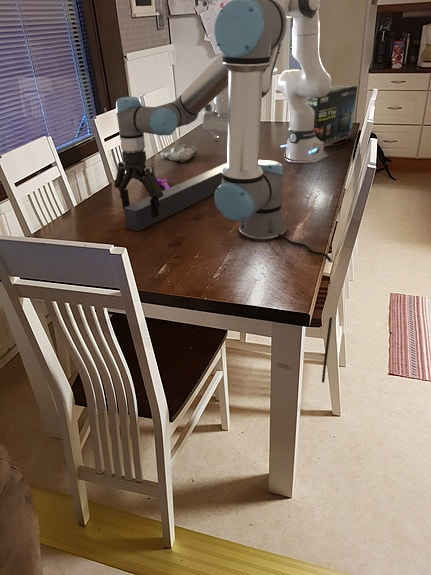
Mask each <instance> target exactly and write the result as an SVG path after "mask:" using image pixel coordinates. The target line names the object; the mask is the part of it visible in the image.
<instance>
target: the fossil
mask: <svg viewBox="0 0 431 575" xmlns="http://www.w3.org/2000/svg"><path fill="white" fill-rule="evenodd" d="M198 153H199V150H198V148H197V146H195V145H188V146H187V145H186V143H184V142H183V143H181V142H176V143H175V145H174V146H173V147H172V148H171V149H170V150H168V149H165V150H162V151H161V152H160V156H161V158H162V159H163V160H169V161H174V162H177V161H179V162H180V163H185V162H187V161H188V160H190V159H191V158H192V157H193V156H194V155H197V154H198Z"/></svg>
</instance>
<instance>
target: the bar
mask: <svg viewBox="0 0 431 575" xmlns="http://www.w3.org/2000/svg"><path fill="white" fill-rule="evenodd" d="M226 165H227V162H226V163H223V164H220V165H219V166H216V167H214V168H211V169H210V170H207V171H205V172H203V173H201V174H198V175H196V176H194V177H191V178H189V179H187V180H185V181H182V182H180V183H177V184H175V185H173V186H171V187H170V188H168V189H166V190H165V189H164V190H161V191H162V193H163V196H162V197H160V198H159V207H158V212H159V216H157V217H155V218H152V215H151V205H150V199H151V196H150V195H149V196H148V197H145V198H144V199H141V200H139V201H137V202H134V203H132V204H130V205H129V206H127V207H125V208H124V209H123V213H124V214H123V215H124V219H125V220H124V221H125V228H126V229H129V230H133V231H136V232H139V231H142V230H144V229H146V228H147V227H150V226H153V225H154V224H157V223H158V222H160V221H162V220H164V219H166V218H168V217H170V216H173V215H174V214H176V213H178V212H181V211H182V210H184V209H187V208H189V207H190V206H192V205H194V204H196V203H198V202H200V201H202V200H204V199H206V198H208V197H210V196H212V195H215V192H216V190H217V188H218V187H219V186H220V185H221V184H222V169H223V168H224V167H225V166H226Z"/></svg>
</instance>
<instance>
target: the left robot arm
mask: <svg viewBox="0 0 431 575" xmlns="http://www.w3.org/2000/svg"><path fill="white" fill-rule="evenodd" d="M213 30H214V31H213V34H214V35H213V36H214V41H215V43H216V46H217V47H218V48H219V51H220V52H221V53H220V54H219V55H218V57H216V58H215V60H214V61H213V62H212V63H210V65H209V66H207V67H206V69H205V70H204V71H203V72H202V73H201V74H199V76H198V77H197V78H195V80H193V82H192V83H191V84H190V85H189V86H187V88H186V89H185V90H184V91H183V92H182V93H181V94H180V95H179V96H178V97H177V98H176V99H175V100H174V101H171V102H168V103H165V104H160V105H158V106H144V105H142V102H141V99H140V97H137V96H124V97H123V96H122V97H119V98H117V99H116V102H115V109H116V110H115V112H116V113H115V115H116V119H117V124H118V132H119V142H120V143H119V144H120V149H121V150H122V151H121V157H122V161H120V162H117V172H116V177H115V181H114V185H113V186H114V188H115V189H117V190H118V191H119V197H120V199H121V205H122V210H124V208H125V207H127V206H129V205H131V204H130V197H129V196H130V195H129V189H127V188H128V185H129V184H130V182H131V180H132V179H135V180H137V181H139V182H140V183H141V184H142V185H143V187H144V189H145V190H146V192H147V193H148V195H149V197H150V196H151V199H150V205H151V215H152V218H155V217H157V216H159V212H158V207H159V198H160V197H162V196H163V193H162V191H163V190H162V188H161V186H160V185H159V184H158V181H157V179H158V178H157V177H156V175H155V170H154V167H153V166H149V167H147V165H146V162H147V153H146V151H147V150H146V144H145V134H150V135H155V136H156V135H157V136H161V137H163V136H172V135H173V134H174V132H175V131H176V129H178V128H181V127H184V126H187V125H190V124H192V123H193V122H196V120H197V119H198V117H199V113H200V112H202V110H204V109H203V108H205V107H206V106H207V105H208V104H210V103H212V102H213V101H214V98H215V97H216V96H217V95H219V94H220V93H221V92H222V91H223V90H224V89H225V88H226V87H227V86H228V85H229V86H228V132H227V162H226V163H227V165H226V166H225V167H224V168H223V169H222V184H221V185H220V186H219V187H218V188H217V190H216V192H215V193H214V194H213V195H214V197H213V200H214V204H215V207H216V209H217V210H218V212H220V213H221V215H222V216H223V217H224V218H226V219H228V220H229V221H232V222H239V226H238V232H239V235H240V236H241V237H242V238H244V239H247V240H250V241H254V242H271V241H277V240H279V239H283V240H284V241H286V242H287V243H288V244H291V245H293V246H300V247H303V248H305V249H306V250H307V251H308V252H310V253H311V254H314V255H318V256H323V257H324V258H325V259H326V260H327V261H328V262H330V263H332V262H333V260H332V258H331V257H330V256H329V255H328V254H327V253H326V252H322V251H317V250H313V249H312V248H311V247H310V246H309V245H308V244H306V243H302V242H297V241H293V240H291V239H289V238H288V237H286V236H285V235H286V234H287V223H286V221H285V216H284V214H283V210H282V200H283V183H284V168H283V164H282V163H280V162H278V161H275V160H270V159H259V157H260V156H259V155H260V138H261V120H262V103H263V102H262V100H263V98H262V83H263V70H264V69H265V68H266V67H267V66H268V65H269V63H270V52H271V51H272V50H274V49H275V48H276V47H277V46H278V45H279V44H280V43H281V44H282V42H283V40H284V39H285V36H286V33H287V30H288V17H286V14H285V12H284V9H283V8H282V6H281V5H280V4H279V3H278V2H276V1H274V0H231V1H229V2H227V3H226V4H225V5H224V6H223V7H222V8H221V10H219V12H218V14H217V16H216V18H215V22H214V29H213ZM332 323H333V316H330V317H329V319H328V327H327V335H326V343H325V351H324V358H323V366H322V375H321V383H325V380H326V370H327V362H328V354H329V346H330V339H331V338H330V337H331V331H332Z"/></svg>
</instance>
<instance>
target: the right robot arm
mask: <svg viewBox="0 0 431 575" xmlns="http://www.w3.org/2000/svg"><path fill="white" fill-rule="evenodd" d="M274 1H276V2H278V3H279V4H280V5H281V6H282V8H283V9H284V12H285V14H286V17H287V18H292V19H293V22H292V25H293V26H292V42H291V44H292V48H291V51H292V52H291V54H292V56H293V58H294V59H295V60H296V61H297V62H298V63H299V65H300V68H301V69H293V68H292V69H288V70H284V71H282V72H281V74H280V75H279V78H278V82H277V85H278V90H279V91H280V92H281V94H282V95H283V96H284V98H285V100H286V102H287V105H288V109H289V128H288V130H287V134H288V135H287V136H288V138H287V142H286V144H283V145H280V148H284V147H286V149H285V153H286V157H287V158H289V159H292V160H311V158H313V157H315V156H317V155H319V154H321V153H323V152H325V151H324V149H325V148H324V145H323V143H322V142H321V141H320V140H319V139H318V138H317V137H316V134H315V132H316V133H319V129H318V128H315V129H314V116H315V112H314V109H313V108H312V107H311V106H310V105H309V104H308V102H307V99H306V97H308V98H320V97H325V96H326V95H327V94H328V93H329V91H330V89H331V87H332V85H333V84H332V82H333V81H332V78H331V76H330V74H329V73H328V72H327V71H326V70H325V68H324V66H323V64H322V61H321V57H320V14H319V8H320V5H321V0H274ZM281 46H282V42H281V43H280V44H279V45H278V46H277V47H276V48H275V49H274V50H272V51H271V52H270V63H269V65H268V66H267V67H266V68H265V69H264V70H263V83H262V99H263V98H265V96H266V95H268V93H269V91H270V90H271V86H272V79H273V78H272V77H273V73H274V70H275V67H276V64H277V60H278V58H279V53H280V50H281ZM228 86H229V85H228ZM228 86H227V87H226V88H225V89H224V90H223V91H222V92H221V93H220V94H219V95H217V96H216V97H215V98H214V99H213V101H211V102H210V103H209V104H208V105H207V106H206V107H205V108H203V109H202V110H203V111H204V112H203V114H202V126H203V130H205V131H210V133H211V136H212V138H213V142H214V143H219V142H220V136H218V135H217V132H221V133H228ZM357 135H360V132H358V134H357ZM328 156H329V154H328V155H326V156H324V157H322V158H320V159H318V160H316V159H313V160H316V161H291V160H288V159H286V158H285V155H284V154H283V157H284V160H285V161H286V162H289V163H295V164H316V163H318V162H319V161H322V160H323V159H325V158H327V157H328Z"/></svg>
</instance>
